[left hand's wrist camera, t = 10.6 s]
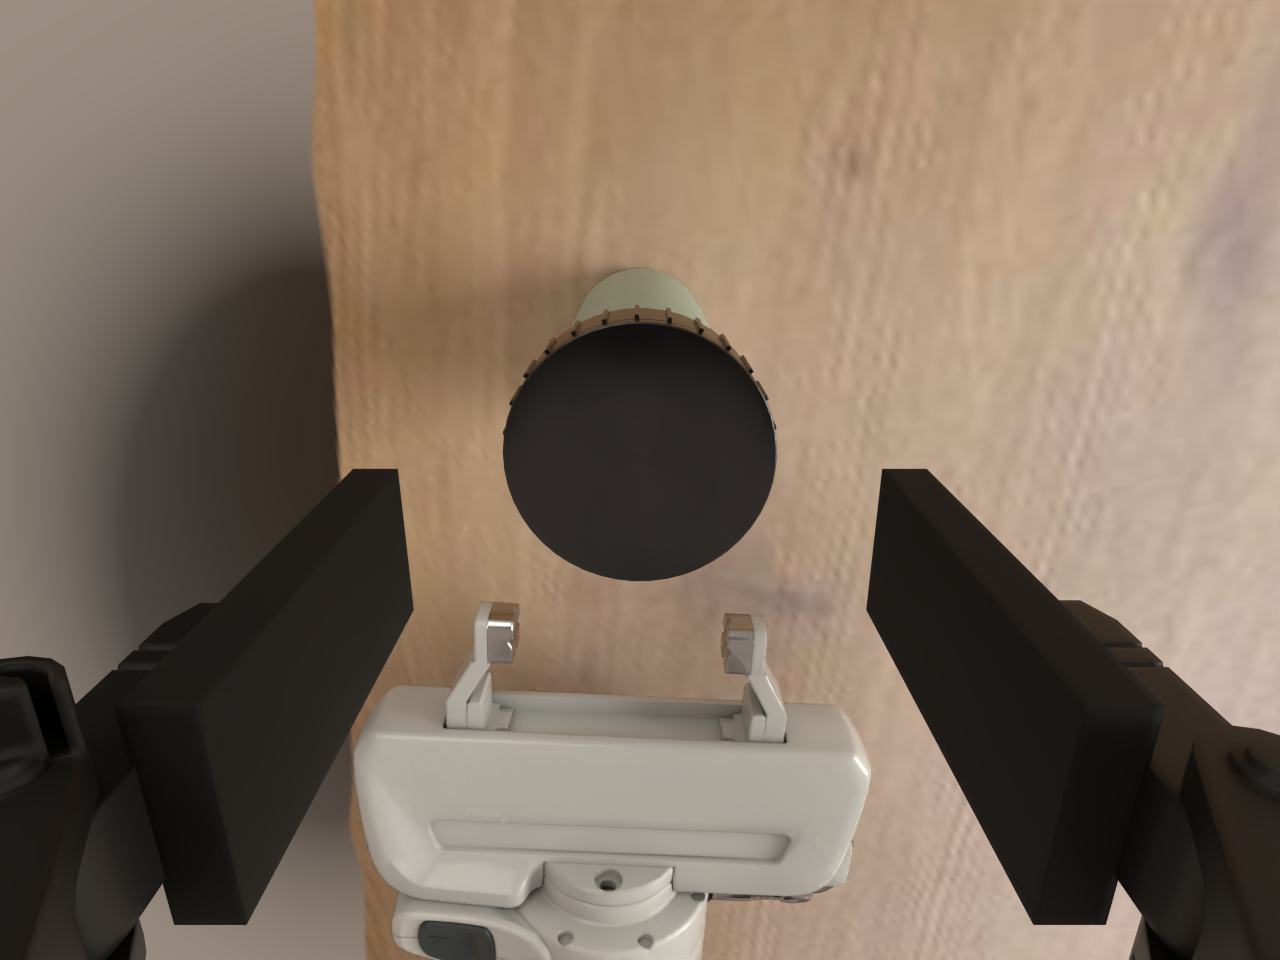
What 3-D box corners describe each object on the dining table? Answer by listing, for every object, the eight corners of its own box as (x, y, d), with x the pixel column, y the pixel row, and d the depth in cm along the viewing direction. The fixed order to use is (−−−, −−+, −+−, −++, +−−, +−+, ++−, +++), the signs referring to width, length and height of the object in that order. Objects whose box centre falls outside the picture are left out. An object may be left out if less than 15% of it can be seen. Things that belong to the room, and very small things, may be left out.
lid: (813, 463, 20) (832, 493, 18) (609, 589, 21) (606, 630, 20) (675, 249, 18) (680, 257, 16) (461, 401, 20) (442, 425, 18)
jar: (729, 351, 33) (798, 480, 19) (623, 421, 34) (611, 595, 20) (657, 240, 31) (672, 289, 17) (548, 318, 33) (477, 424, 18)
